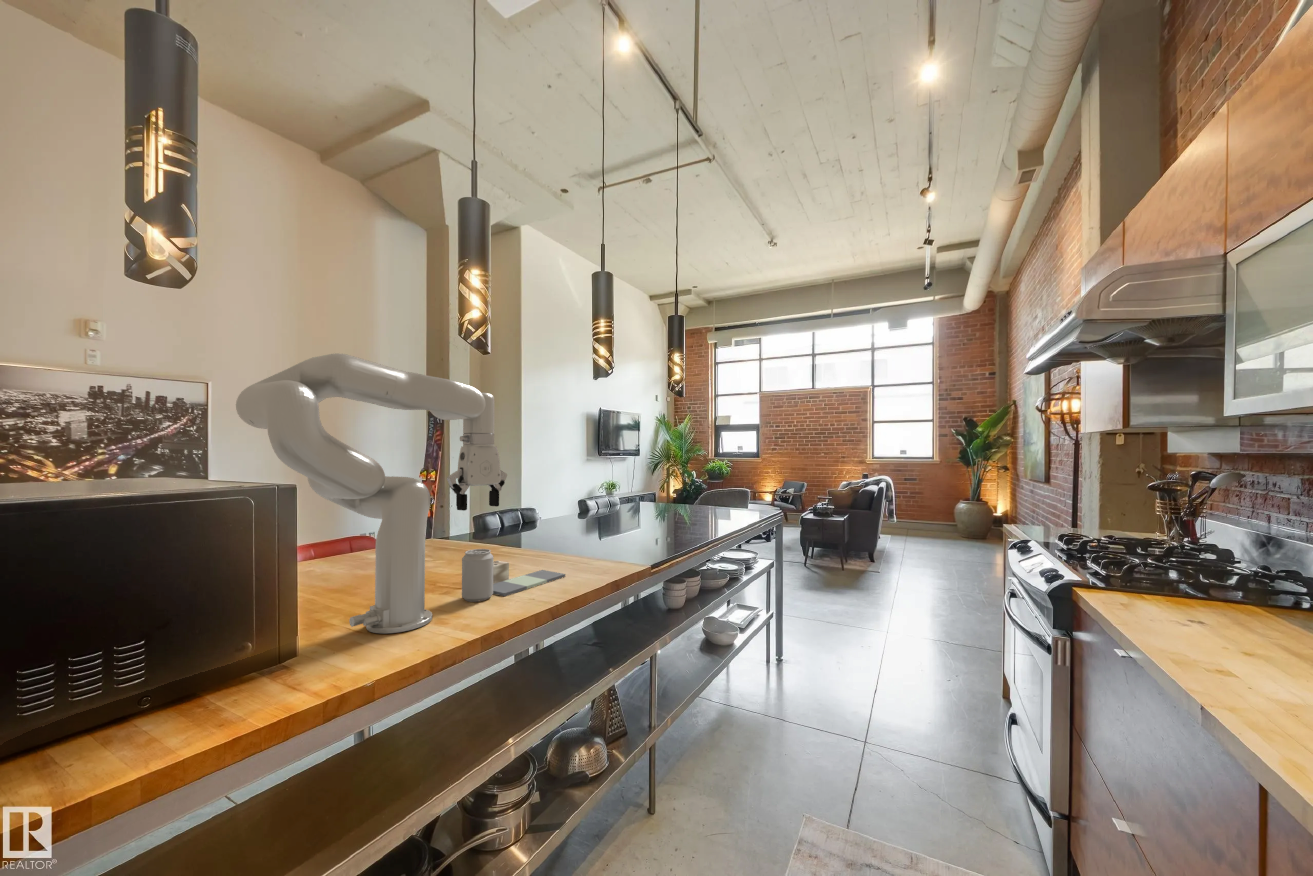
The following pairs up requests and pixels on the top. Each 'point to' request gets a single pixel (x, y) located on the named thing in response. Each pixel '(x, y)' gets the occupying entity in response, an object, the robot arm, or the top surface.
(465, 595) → the can
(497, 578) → the die
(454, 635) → the top surface
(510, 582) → the board
